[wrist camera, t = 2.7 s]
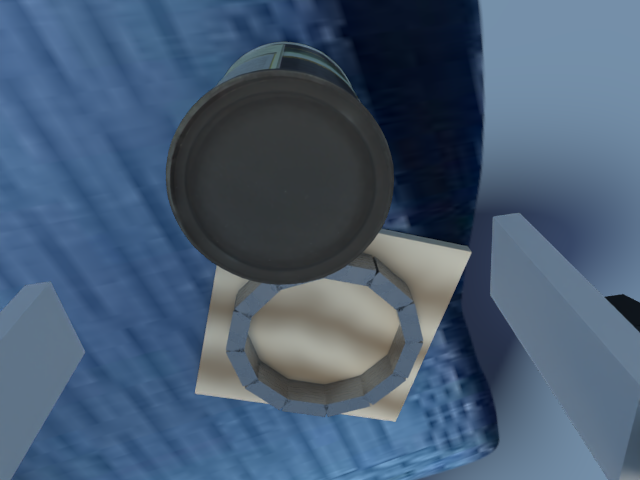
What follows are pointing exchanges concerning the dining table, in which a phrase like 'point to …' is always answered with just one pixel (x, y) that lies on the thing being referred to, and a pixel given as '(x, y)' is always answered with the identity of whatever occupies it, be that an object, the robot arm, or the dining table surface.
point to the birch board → (334, 322)
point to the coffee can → (280, 169)
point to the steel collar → (338, 393)
